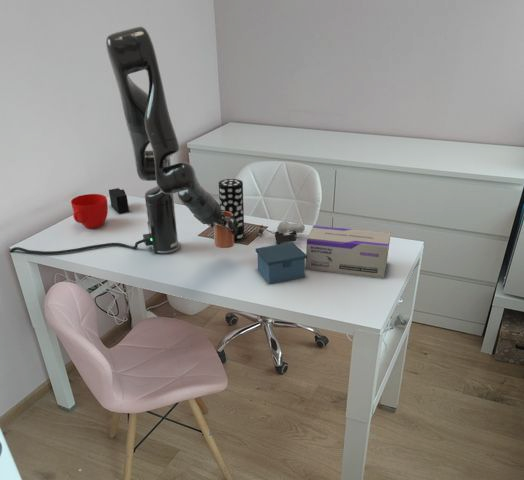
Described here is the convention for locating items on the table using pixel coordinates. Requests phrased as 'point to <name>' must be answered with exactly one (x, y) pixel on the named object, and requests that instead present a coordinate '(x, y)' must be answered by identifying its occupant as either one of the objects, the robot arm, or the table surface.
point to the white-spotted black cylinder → (233, 202)
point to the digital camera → (119, 200)
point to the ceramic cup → (90, 210)
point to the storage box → (281, 262)
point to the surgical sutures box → (347, 251)
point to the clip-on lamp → (285, 231)
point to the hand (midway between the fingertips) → (226, 229)
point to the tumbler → (223, 234)
